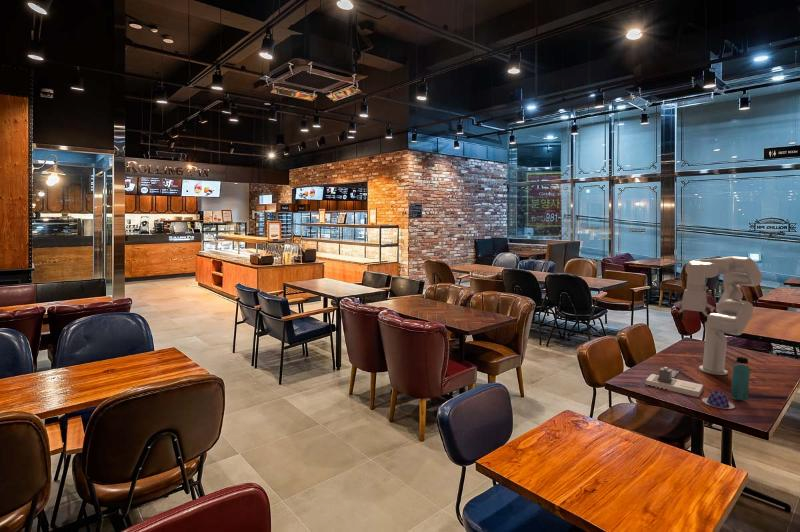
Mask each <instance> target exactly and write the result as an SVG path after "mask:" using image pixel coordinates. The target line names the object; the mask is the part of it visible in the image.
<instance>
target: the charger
mask: <svg viewBox="0 0 800 532" xmlns="http://www.w3.org/2000/svg"><path fill="white" fill-rule="evenodd" d="M672 370H673V369H671V368H668V366H664V367H662V366H661V367H660V369H659V372H658V374H659V381H663V382H668V383H671V376H672Z"/></svg>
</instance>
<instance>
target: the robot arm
mask: <svg viewBox="0 0 800 532" xmlns="http://www.w3.org/2000/svg"><path fill="white" fill-rule="evenodd" d="M684 269H685V273H686V274H687V277H686V287H685V289H684V292H683V295H682V300H678V301H676V302H674V303H673V305H674V306H673V307H675V309H676V310H677V312H678V313H679V314H678V319H679V320H680V321H683V320H684V311H685V310H687V311H694V312H701V313H702V314H703V316H702V324H704V326H705V327H704V328H705V329H704V330H705V337H704V350H703V358H702V359H703V360H702V365H699V366H698V369H699V370H700V371H701V372H703V373H706V374H710V375H714V376H715V375H717V376H726V375H728V372H729V371H728V370H726V369H725V367H726V366H725V364H726V355H727V354H726V353H727V347H728V346H727V344H728V340H727V337H726V335H727V334H728V335H733V336H740V335H741V334H743V333H744V332H745V330H746V328H747V326H748V324H749V322H750V320H751V319H752V317H753V314H754V306H753V304H752V303H751V302H749V301H746V300H742V299H743V296H744V294H743V292H742V290H741V289H740V288H739V286H748V287H757V286H759V285H761V283H762V280H763V276H762V273H761V271H760V269H759V267H758V264H756V262H755V260H754V259H752V258H751V257H746V256H745V257H744V256H733V255H731V256H725V257H717V258H707V259H706V258H705V259H694V260H690V261H689V262H688V263H686V264H685V268H684ZM718 275H720V276H721V275H722V281H723V287H724V288H723V290H724V291H723V293H722V295H721V297H720V299H719V300H718V302H717V304H716V306H713V305H711V304H709V303H708V297H707V296H708V295H707V291H705V290H709V287H708V286H706V278H707V279H708V278H709V279H710V278H711V279H712V278H715V277H717V276H718ZM680 304H681V308H680V307H679V305H680ZM707 307H708V308H709V310H708V311H707ZM714 310H715V312H714ZM725 334H726V335H725Z"/></svg>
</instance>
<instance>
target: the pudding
mask: <svg viewBox="0 0 800 532" xmlns="http://www.w3.org/2000/svg"><path fill="white" fill-rule="evenodd" d="M701 401H702V402H703V403H704V404H706V405H708V406H710V407H713V408H719V409H720V408H721V409H724V410H725V409H727V410H732V409H734V408H735V407H736V406H735V404H733V403H732V402H730V401H729V399H728V395H727V394H726V393H725V392H722V391H717V390H716V391H710V394H709V396H708V397H703V398H702V399H701Z"/></svg>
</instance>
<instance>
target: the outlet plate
mask: <svg viewBox="0 0 800 532" xmlns="http://www.w3.org/2000/svg"><path fill="white" fill-rule="evenodd" d="M645 384H647V385H646V386H648V385H651V386H650V387H652V386H655V387H654V388H657V387H659V388H658V389H661V388H663V389H662V390H665V389H667V390H666V391H670V392H675V393H680V394H684V395H688V396H692V397H696V398H699V397H700V396H701V394H702V392H703V390H704V384H701V383H697V382H691V381H687V380H682V379H678V378H671V383H668V382H663V381H659V375H658V374H655V373H651V374H650V375H649V376H648V377H647V378H646V379H645Z"/></svg>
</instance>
